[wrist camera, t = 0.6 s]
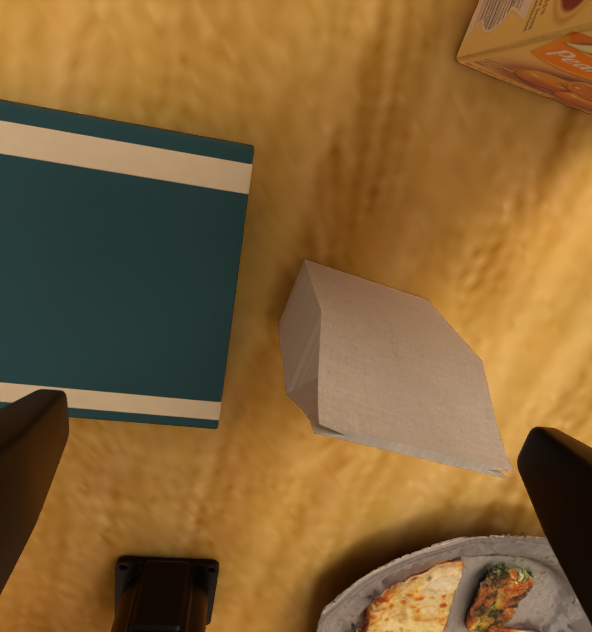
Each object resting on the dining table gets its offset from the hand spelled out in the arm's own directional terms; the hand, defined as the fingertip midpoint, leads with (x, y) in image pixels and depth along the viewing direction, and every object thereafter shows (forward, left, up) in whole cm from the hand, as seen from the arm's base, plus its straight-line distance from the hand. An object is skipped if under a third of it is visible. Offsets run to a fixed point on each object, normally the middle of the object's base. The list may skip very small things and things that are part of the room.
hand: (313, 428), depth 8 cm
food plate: (-28, -18, -14) cm, 36 cm away
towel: (-3, +9, -13) cm, 16 cm away
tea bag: (-3, -4, -14) cm, 15 cm away
